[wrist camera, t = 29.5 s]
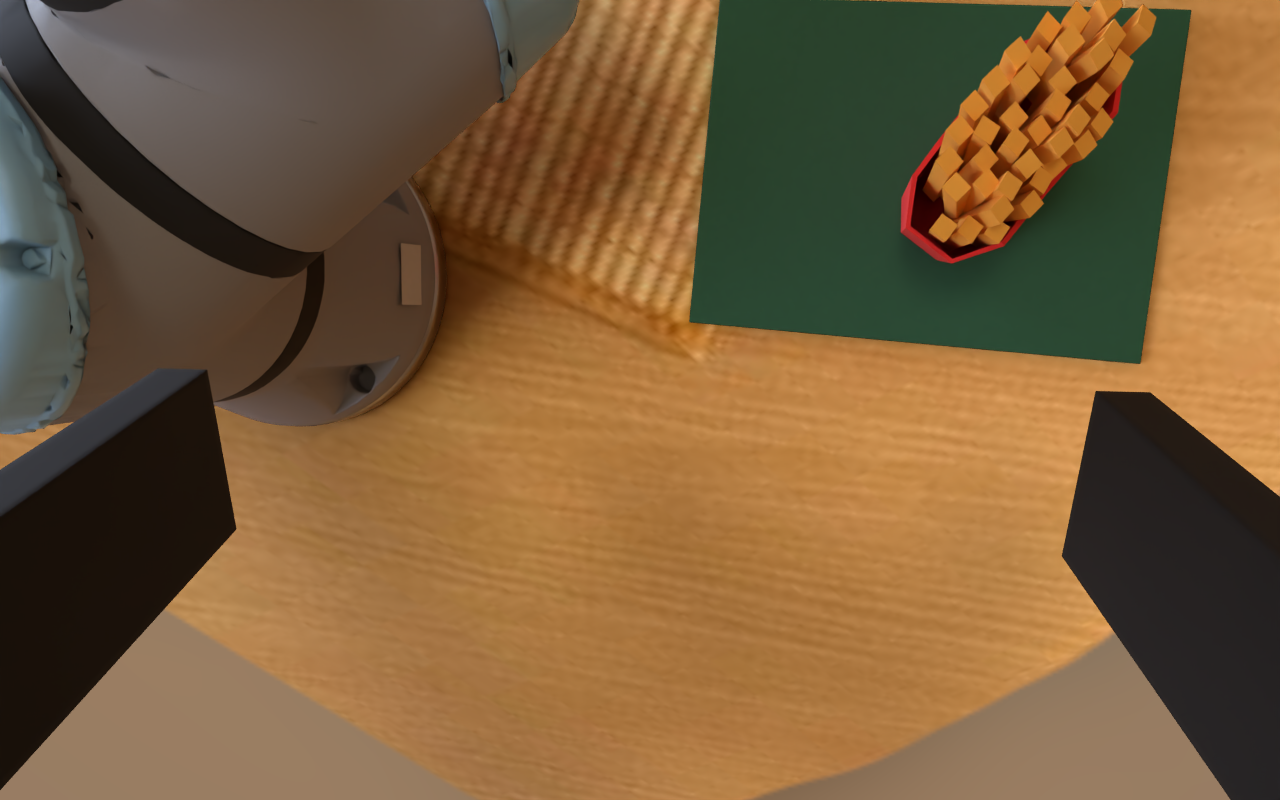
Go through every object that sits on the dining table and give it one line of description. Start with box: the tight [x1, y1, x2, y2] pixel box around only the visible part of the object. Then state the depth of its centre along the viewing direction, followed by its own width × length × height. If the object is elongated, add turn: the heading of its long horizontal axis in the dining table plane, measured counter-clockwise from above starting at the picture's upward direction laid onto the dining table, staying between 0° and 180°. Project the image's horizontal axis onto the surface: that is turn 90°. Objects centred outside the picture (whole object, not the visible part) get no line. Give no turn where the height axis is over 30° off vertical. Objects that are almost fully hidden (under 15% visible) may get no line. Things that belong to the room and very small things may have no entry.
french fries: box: [901, 0, 1156, 263], centre depth 35 cm, size 9×4×13 cm, turn 141°
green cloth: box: [689, 0, 1191, 364], centre depth 42 cm, size 20×15×1 cm
